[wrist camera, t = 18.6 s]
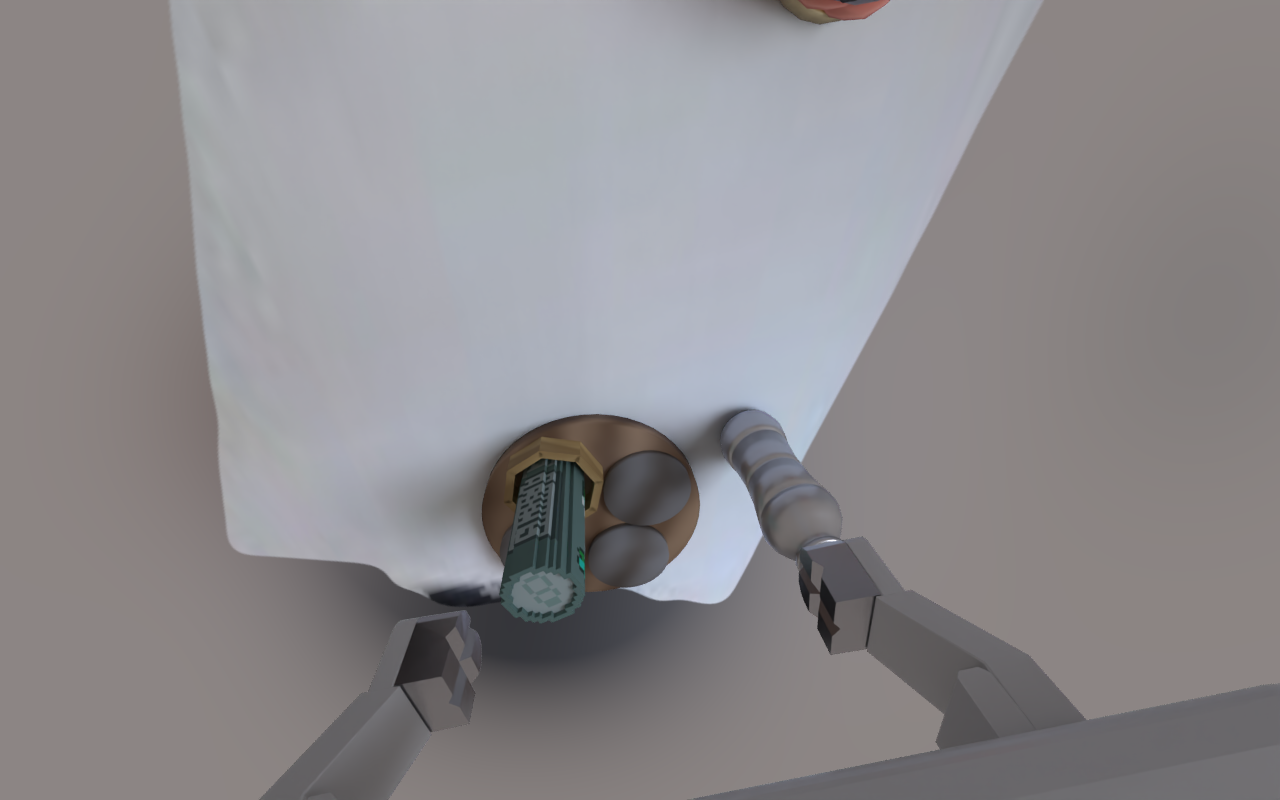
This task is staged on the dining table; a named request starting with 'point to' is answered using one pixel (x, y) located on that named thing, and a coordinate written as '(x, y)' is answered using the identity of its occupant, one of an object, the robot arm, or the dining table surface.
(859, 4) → the cake
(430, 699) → the robot arm
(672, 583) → the dining table surface
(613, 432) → the wooden stone platter
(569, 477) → the can
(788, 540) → the plastic bottle
